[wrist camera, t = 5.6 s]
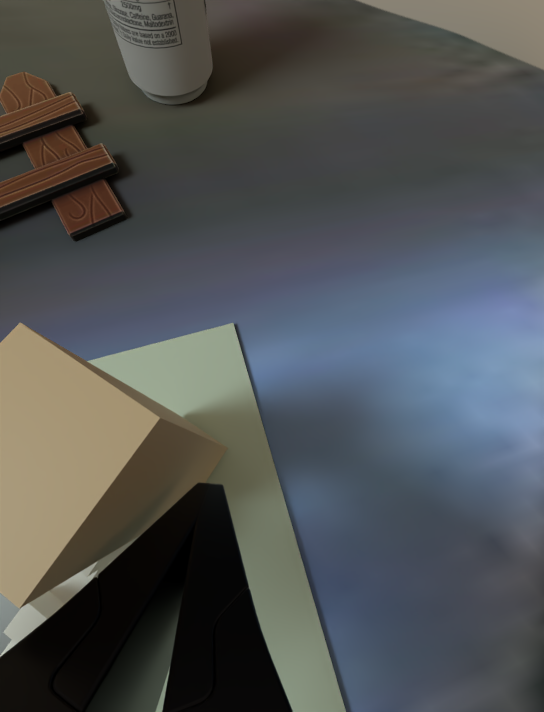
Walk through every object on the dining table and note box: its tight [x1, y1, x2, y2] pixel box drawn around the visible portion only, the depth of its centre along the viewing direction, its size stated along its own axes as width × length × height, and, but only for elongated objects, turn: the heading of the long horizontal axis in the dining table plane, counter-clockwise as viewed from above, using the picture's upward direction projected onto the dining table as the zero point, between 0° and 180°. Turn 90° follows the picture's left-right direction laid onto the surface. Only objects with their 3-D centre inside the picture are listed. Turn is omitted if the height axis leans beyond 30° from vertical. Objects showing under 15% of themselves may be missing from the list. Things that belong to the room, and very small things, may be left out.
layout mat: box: [0, 323, 346, 712], centre depth 14 cm, size 25×17×1 cm
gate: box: [0, 323, 228, 656], centre depth 9 cm, size 11×3×12 cm, turn 148°
